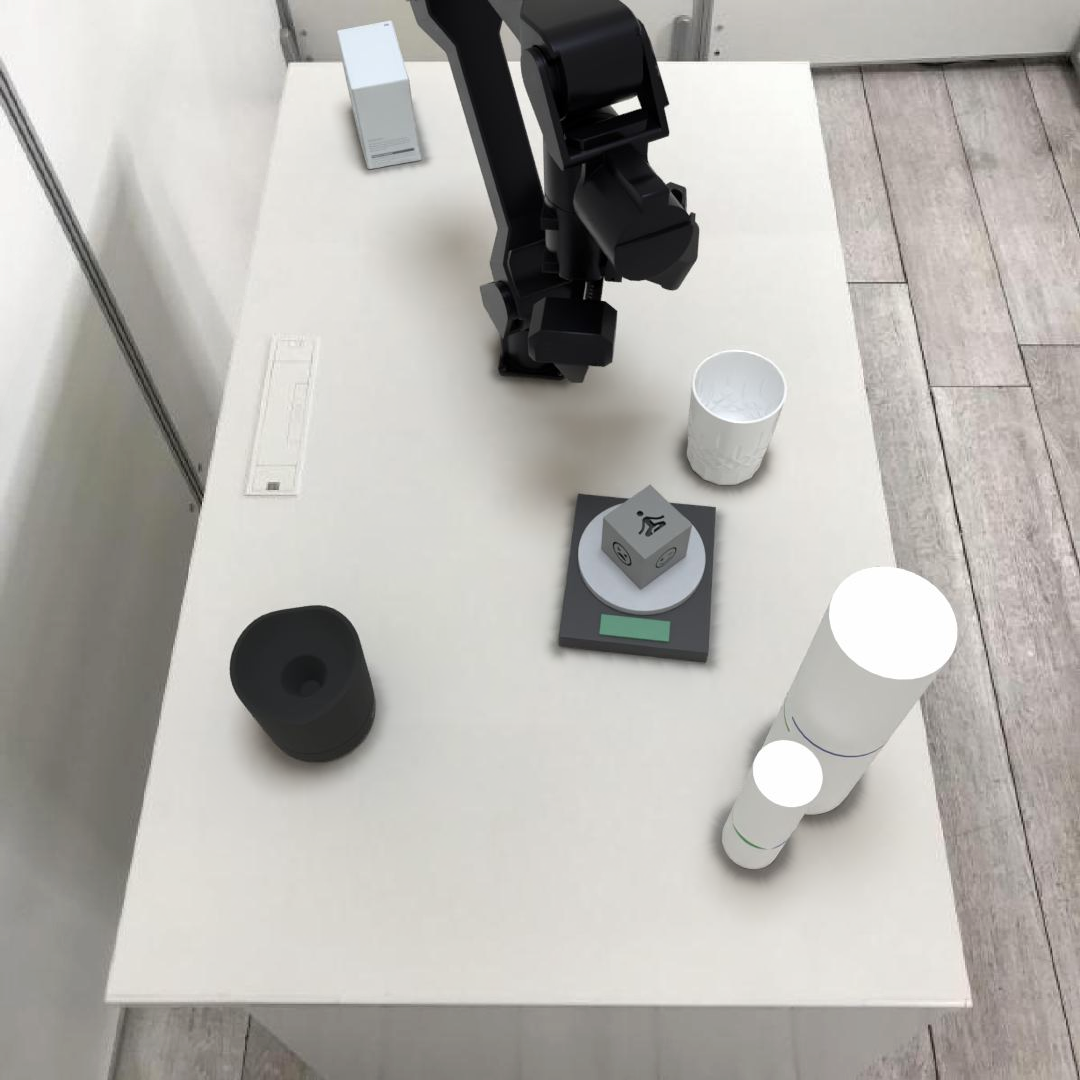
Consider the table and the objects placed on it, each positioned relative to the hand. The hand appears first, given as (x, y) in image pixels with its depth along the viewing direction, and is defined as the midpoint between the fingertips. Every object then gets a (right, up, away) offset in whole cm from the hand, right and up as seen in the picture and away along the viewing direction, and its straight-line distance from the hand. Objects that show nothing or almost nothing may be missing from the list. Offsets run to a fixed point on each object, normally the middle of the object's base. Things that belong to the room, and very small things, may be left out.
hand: (582, 339), depth 89 cm
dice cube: (+5, -18, 0) cm, 19 cm away
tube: (+12, -39, -10) cm, 42 cm away
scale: (+5, -20, +2) cm, 21 cm away
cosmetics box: (-21, +29, +32) cm, 48 cm away
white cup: (+13, -9, +9) cm, 18 cm away
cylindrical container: (+17, -34, -7) cm, 39 cm away
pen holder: (-21, -31, -4) cm, 37 cm away
